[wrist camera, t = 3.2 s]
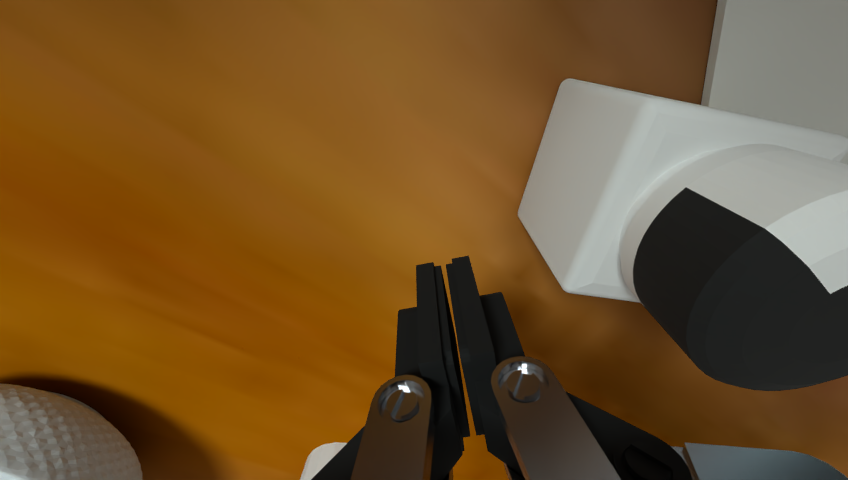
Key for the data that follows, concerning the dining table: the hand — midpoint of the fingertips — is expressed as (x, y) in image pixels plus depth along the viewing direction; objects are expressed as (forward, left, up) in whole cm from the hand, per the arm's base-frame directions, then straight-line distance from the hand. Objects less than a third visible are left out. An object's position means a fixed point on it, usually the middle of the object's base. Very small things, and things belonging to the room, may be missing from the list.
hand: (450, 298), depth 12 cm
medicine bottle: (0, +9, -9) cm, 12 cm away
